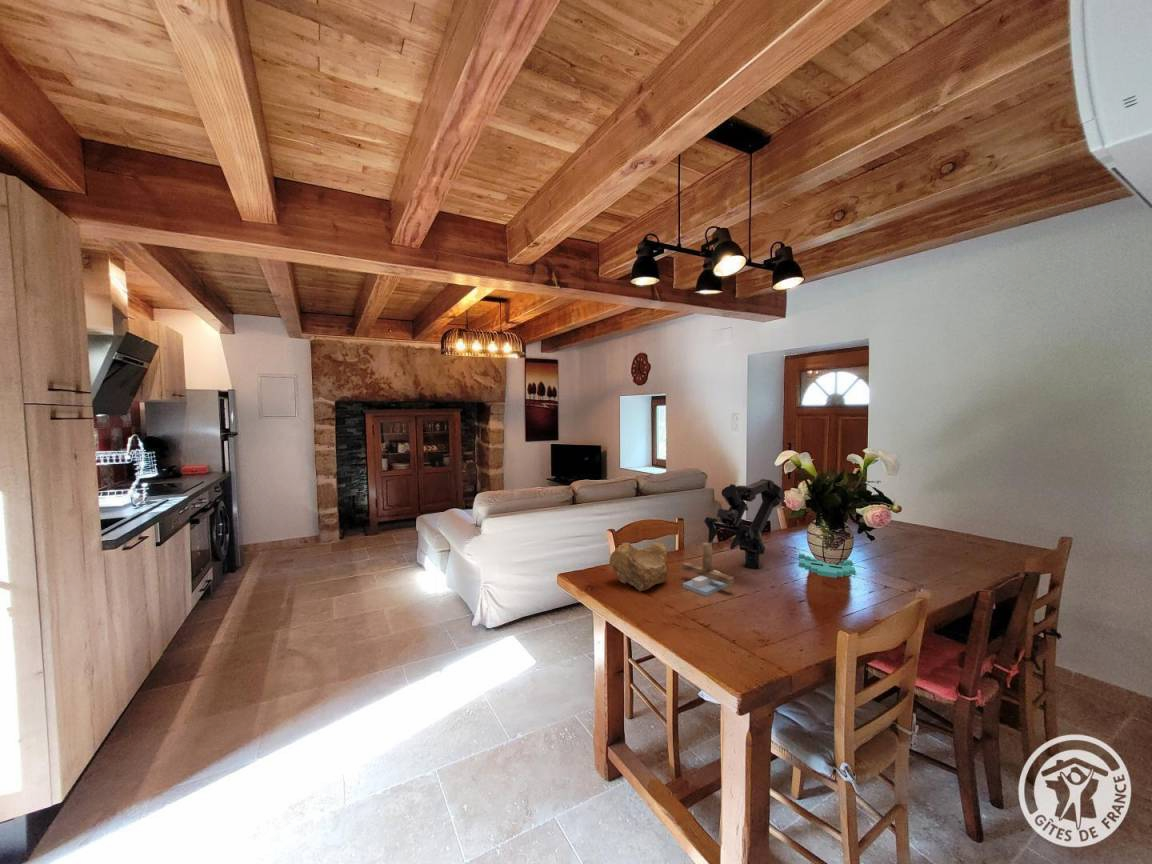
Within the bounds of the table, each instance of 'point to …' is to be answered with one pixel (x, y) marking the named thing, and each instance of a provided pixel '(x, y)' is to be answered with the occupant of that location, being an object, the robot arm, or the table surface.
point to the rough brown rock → (640, 565)
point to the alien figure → (826, 567)
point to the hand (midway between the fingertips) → (719, 545)
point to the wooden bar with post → (708, 567)
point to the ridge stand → (704, 585)
